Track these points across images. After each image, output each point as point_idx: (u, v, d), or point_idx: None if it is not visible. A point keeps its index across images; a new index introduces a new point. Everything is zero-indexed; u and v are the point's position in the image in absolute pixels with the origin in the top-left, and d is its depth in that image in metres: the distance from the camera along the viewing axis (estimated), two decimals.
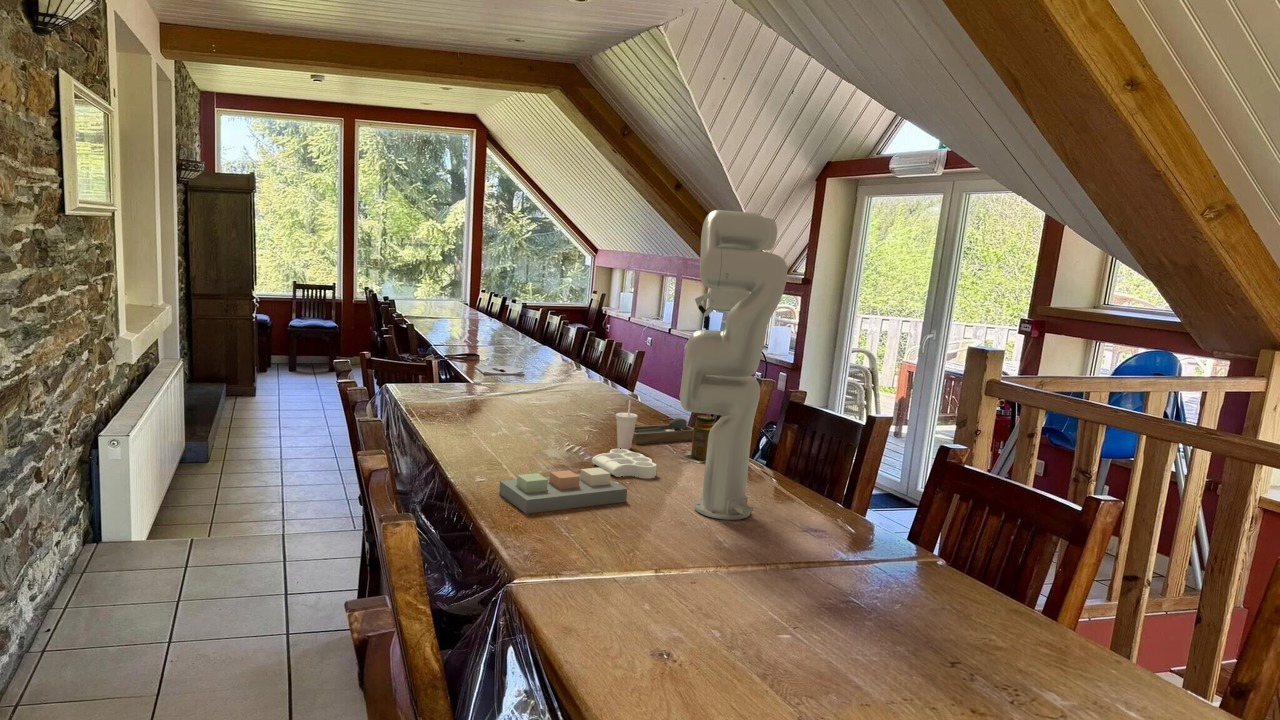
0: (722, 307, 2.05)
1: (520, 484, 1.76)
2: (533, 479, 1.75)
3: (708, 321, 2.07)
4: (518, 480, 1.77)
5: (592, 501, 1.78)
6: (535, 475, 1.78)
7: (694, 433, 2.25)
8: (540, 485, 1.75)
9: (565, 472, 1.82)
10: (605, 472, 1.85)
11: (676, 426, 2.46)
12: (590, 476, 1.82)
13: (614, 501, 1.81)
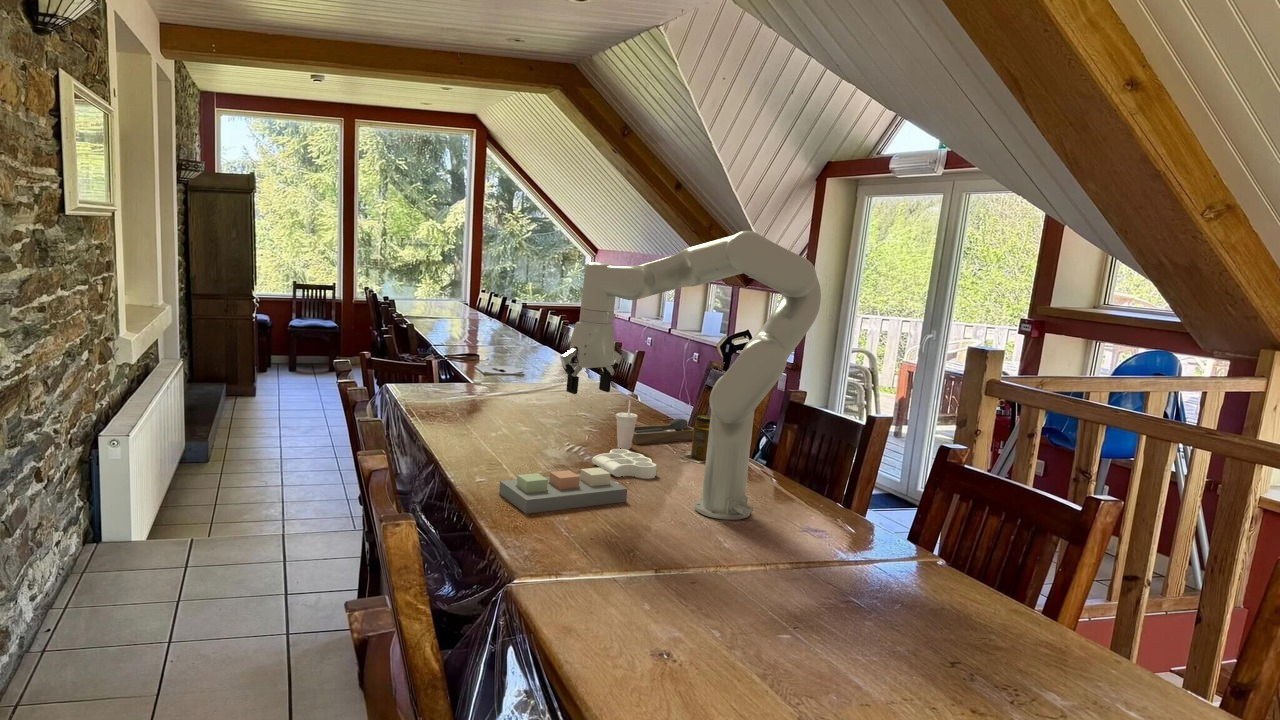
0: None
1: (520, 484, 1.76)
2: (533, 479, 1.75)
3: None
4: (518, 480, 1.77)
5: (592, 501, 1.78)
6: (535, 475, 1.78)
7: (694, 433, 2.25)
8: (540, 485, 1.75)
9: (565, 472, 1.82)
10: (605, 472, 1.85)
11: (677, 426, 2.46)
12: (590, 476, 1.82)
13: (614, 501, 1.81)
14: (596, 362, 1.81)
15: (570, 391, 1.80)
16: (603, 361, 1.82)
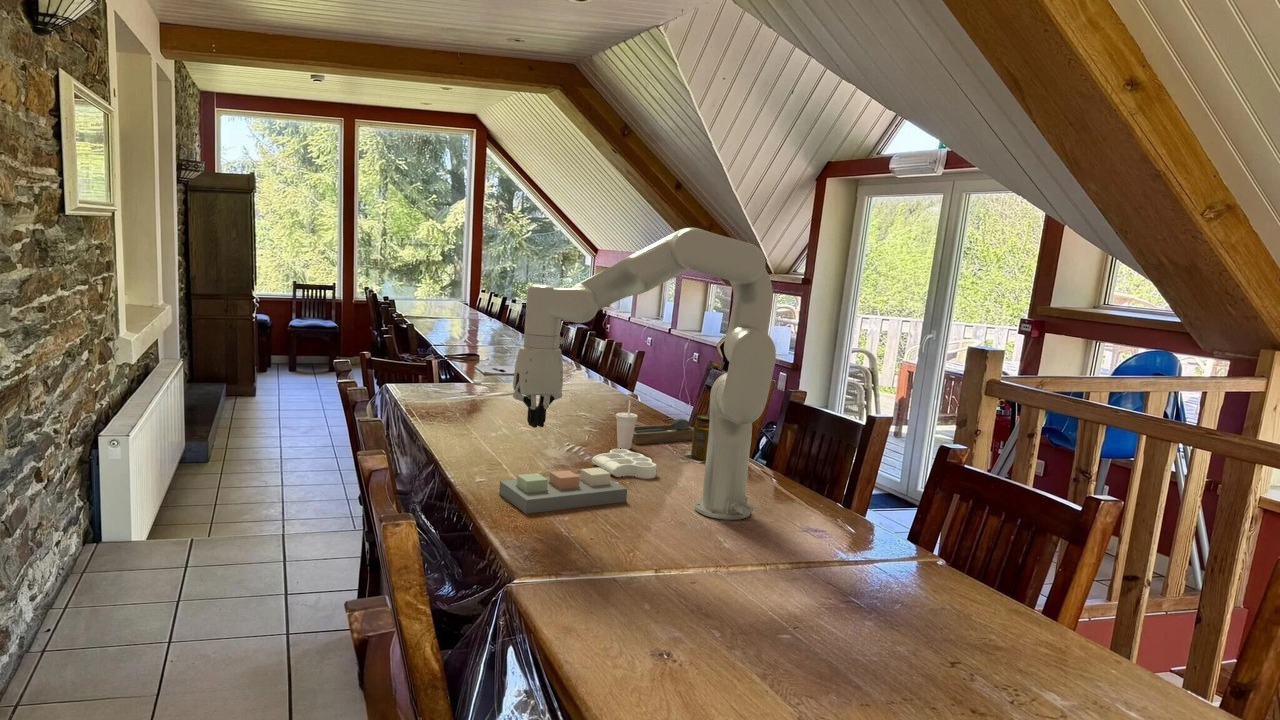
0: None
1: (520, 484, 1.76)
2: (533, 479, 1.75)
3: None
4: (518, 480, 1.77)
5: (592, 501, 1.78)
6: (535, 475, 1.78)
7: (694, 433, 2.25)
8: (540, 485, 1.75)
9: (565, 472, 1.82)
10: (605, 472, 1.85)
11: (678, 426, 2.46)
12: (590, 476, 1.82)
13: (614, 501, 1.81)
14: (541, 389, 1.72)
15: (531, 424, 1.74)
16: (549, 388, 1.73)
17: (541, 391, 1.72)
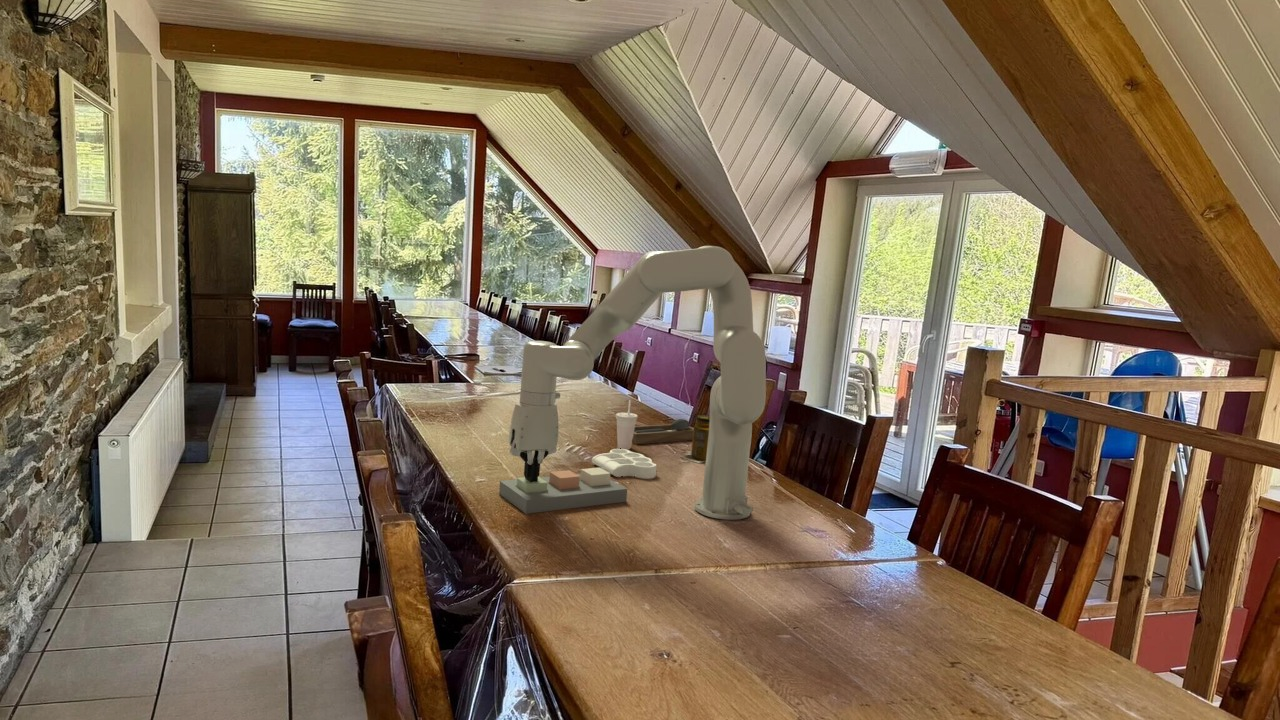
0: None
1: (520, 487, 1.76)
2: (533, 482, 1.75)
3: None
4: (518, 483, 1.77)
5: (592, 501, 1.78)
6: None
7: (694, 433, 2.25)
8: (540, 488, 1.75)
9: (565, 472, 1.82)
10: (605, 472, 1.85)
11: (678, 426, 2.46)
12: (590, 476, 1.82)
13: (614, 501, 1.81)
14: (536, 445, 1.73)
15: (527, 478, 1.76)
16: (545, 443, 1.74)
17: (536, 447, 1.74)
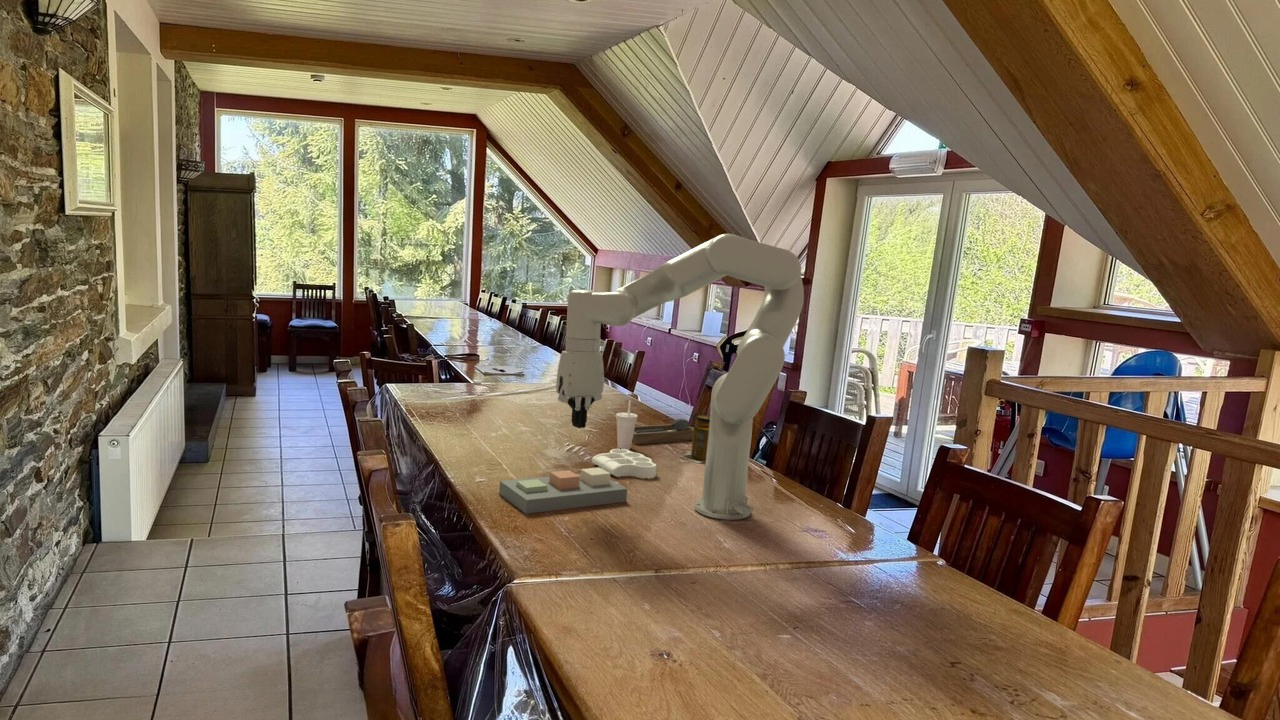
0: None
1: None
2: (533, 485, 1.75)
3: None
4: (518, 486, 1.77)
5: (592, 501, 1.78)
6: (535, 482, 1.78)
7: (694, 433, 2.25)
8: (540, 491, 1.75)
9: (565, 472, 1.82)
10: (605, 472, 1.85)
11: (678, 426, 2.46)
12: (590, 476, 1.82)
13: (614, 501, 1.81)
14: (584, 391, 1.77)
15: (575, 425, 1.80)
16: (591, 390, 1.78)
17: (584, 393, 1.77)
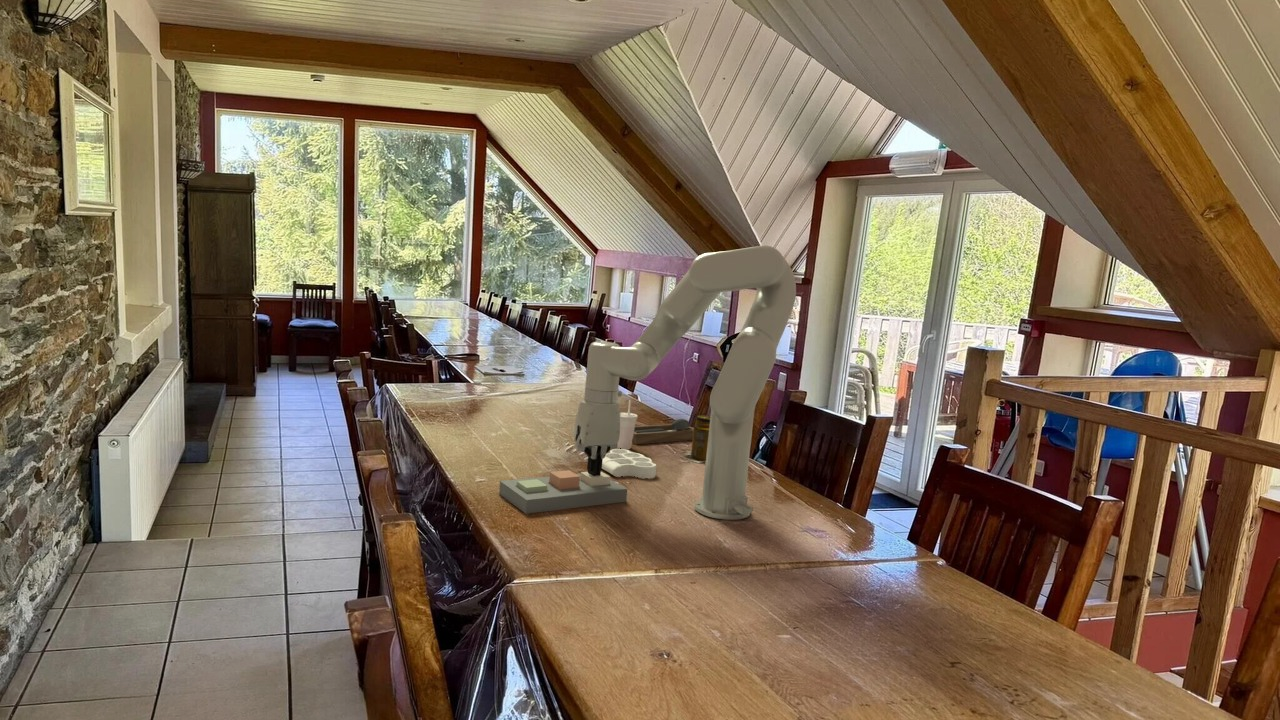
0: None
1: None
2: (533, 485, 1.75)
3: None
4: (518, 486, 1.77)
5: (592, 501, 1.78)
6: (535, 482, 1.78)
7: (694, 433, 2.25)
8: (540, 491, 1.75)
9: (565, 472, 1.82)
10: (605, 475, 1.85)
11: (678, 426, 2.46)
12: (590, 479, 1.82)
13: (614, 501, 1.81)
14: (600, 441, 1.82)
15: (590, 473, 1.85)
16: (608, 439, 1.83)
17: (600, 442, 1.82)
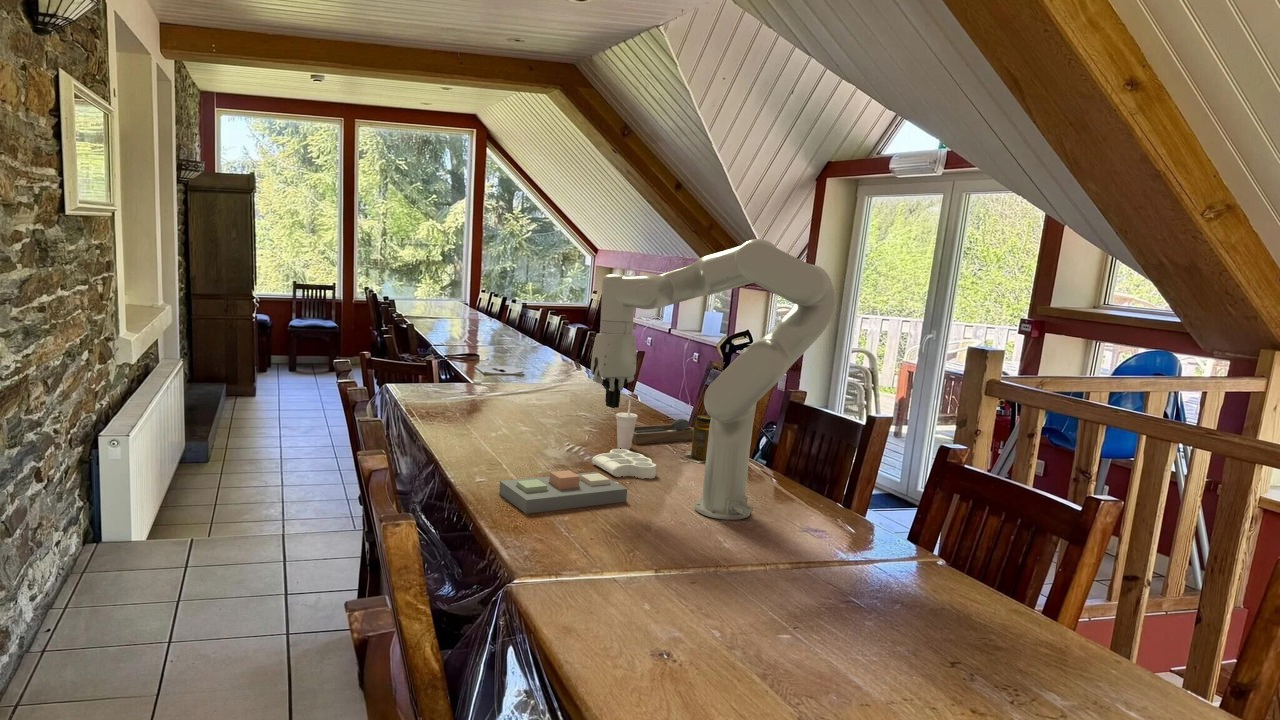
0: None
1: None
2: (533, 485, 1.75)
3: None
4: (518, 486, 1.77)
5: (592, 501, 1.78)
6: (535, 482, 1.78)
7: (694, 433, 2.25)
8: (540, 491, 1.75)
9: (565, 472, 1.82)
10: (605, 478, 1.85)
11: (678, 426, 2.46)
12: (590, 482, 1.82)
13: (614, 501, 1.81)
14: (618, 372, 1.84)
15: (609, 405, 1.87)
16: (625, 371, 1.85)
17: (618, 374, 1.84)
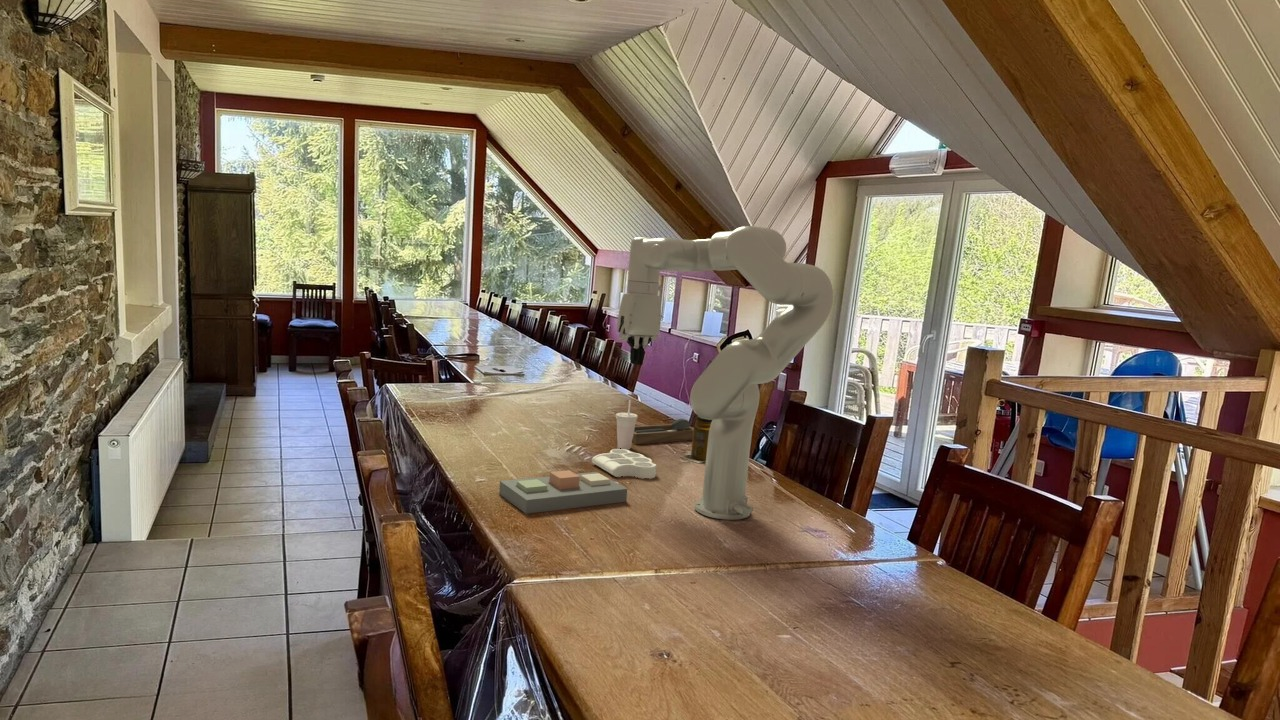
0: None
1: None
2: (533, 485, 1.75)
3: None
4: (518, 486, 1.77)
5: (592, 501, 1.78)
6: (535, 482, 1.78)
7: (694, 433, 2.25)
8: (540, 491, 1.75)
9: (565, 472, 1.82)
10: (605, 478, 1.85)
11: (679, 426, 2.46)
12: (590, 482, 1.82)
13: (614, 501, 1.81)
14: (642, 330, 1.93)
15: (633, 362, 1.96)
16: (649, 330, 1.94)
17: (642, 332, 1.93)
